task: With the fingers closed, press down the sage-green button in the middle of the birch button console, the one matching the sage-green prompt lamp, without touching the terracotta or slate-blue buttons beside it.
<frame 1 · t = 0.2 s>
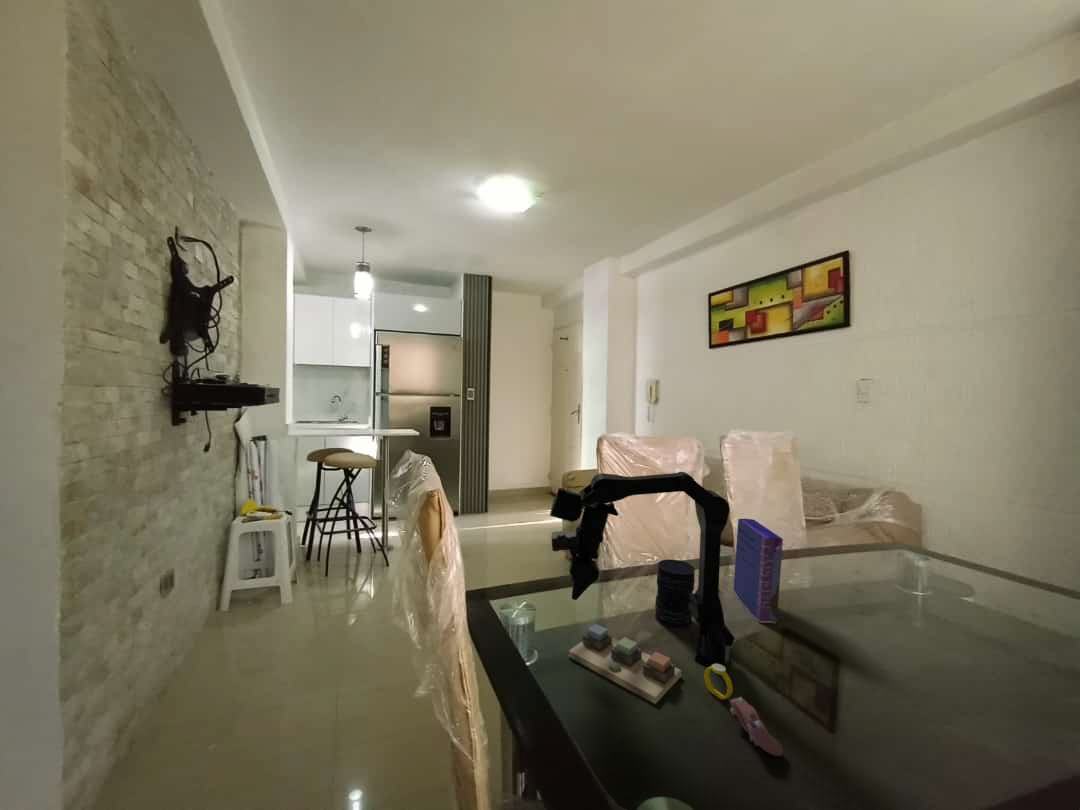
hand: (573, 590, 106), 15 cm above the table, tool pointing down, fingers open, 9 cm apart
gold ring: (717, 695, 95), on the table
terracotta button: (659, 662, 98), point 4 cm above the table, slide at 0.0 cm
pink shoe: (753, 738, 84), on the table
cereal box: (753, 608, 133), on the table
sage button: (626, 647, 103), point 4 cm above the table, slide at 0.0 cm
slate button: (597, 633, 109), point 4 cm above the table, slide at 0.0 cm
console: (623, 666, 103), on the table
storage jar: (673, 620, 124), on the table
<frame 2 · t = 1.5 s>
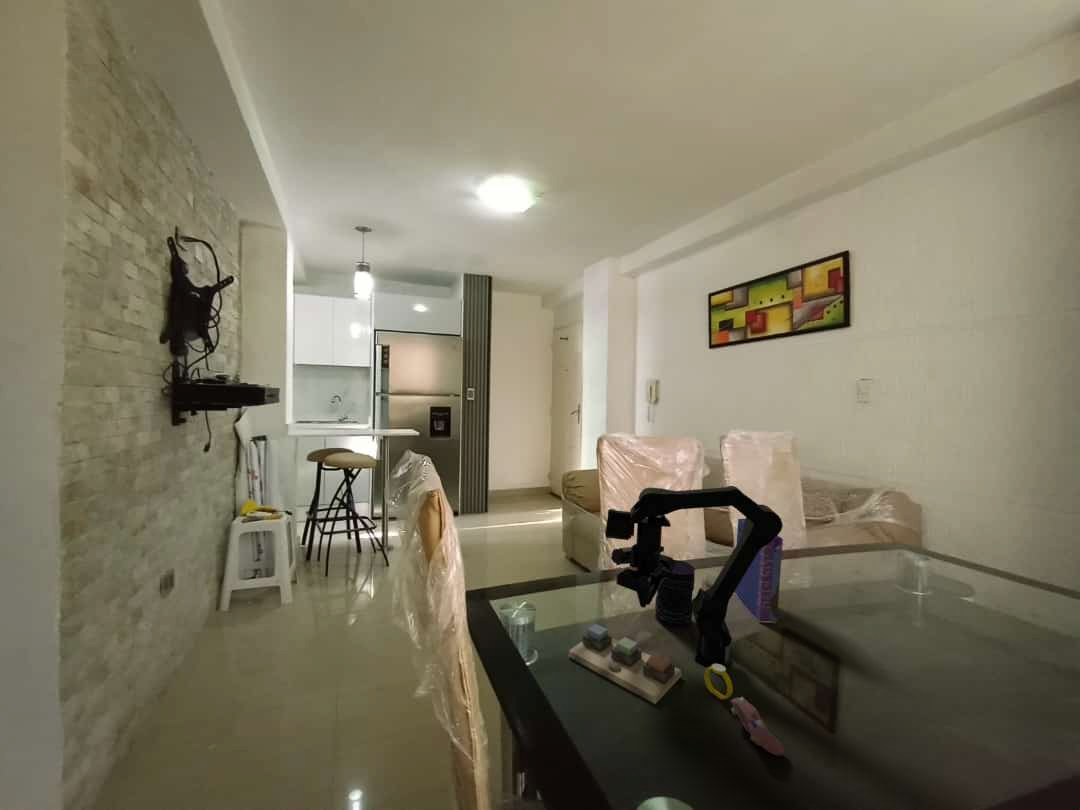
hand: (645, 605, 109), 11 cm above the table, tool pointing down, fingers closed
nothing on the table moved.
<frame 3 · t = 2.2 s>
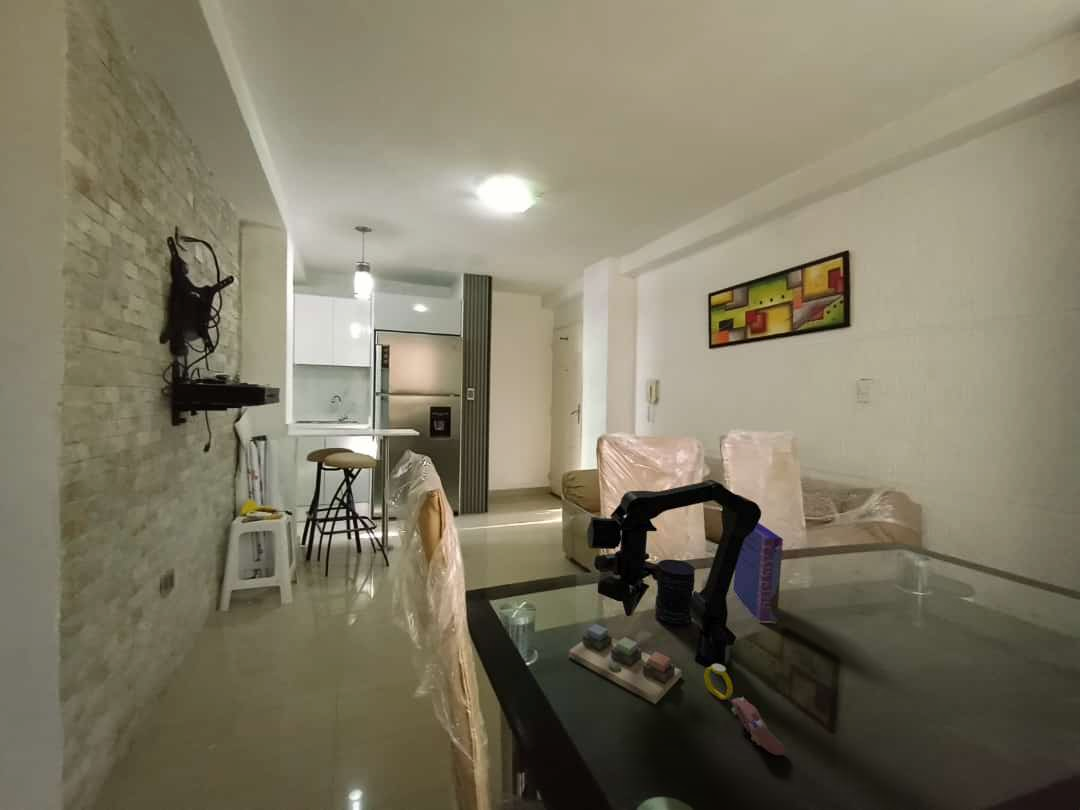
hand: (628, 615, 104), 11 cm above the table, tool pointing down, fingers closed
nothing on the table moved.
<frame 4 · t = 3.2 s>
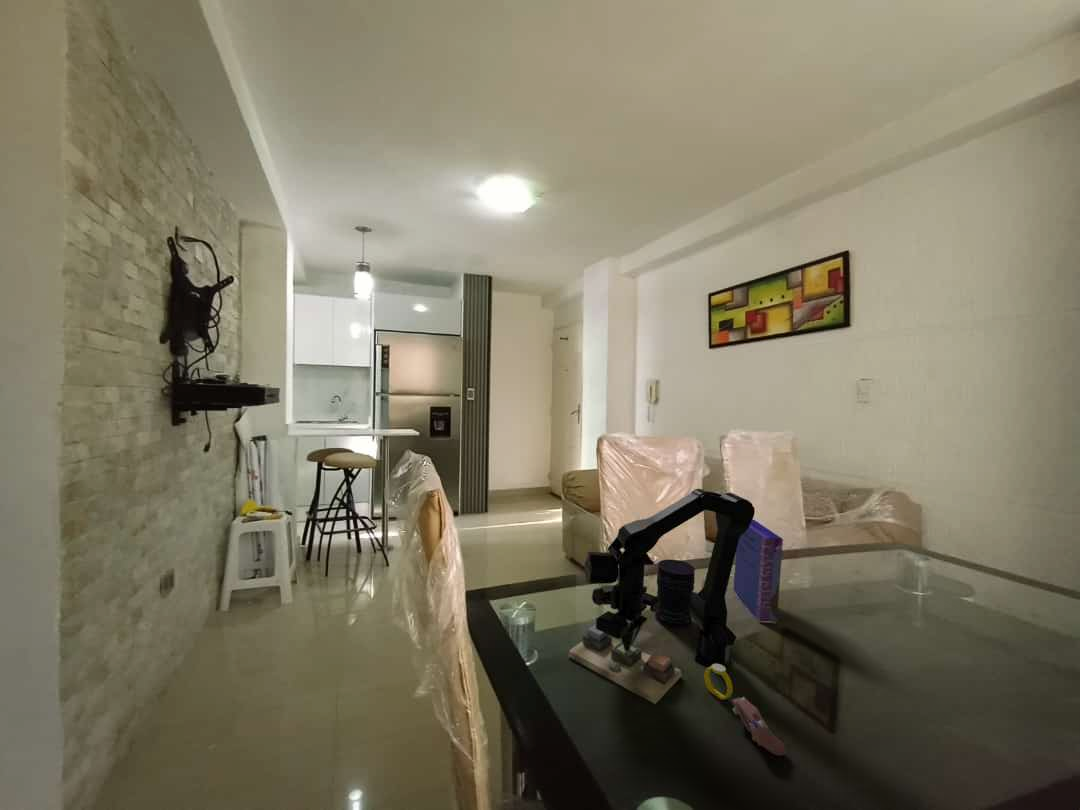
hand: (626, 648, 103), 4 cm above the table, tool pointing down, fingers closed, pressing on sage button
sage button: (626, 653, 103), point 3 cm above the table, slide at 1.4 cm, touching gripper
everything else where it was.
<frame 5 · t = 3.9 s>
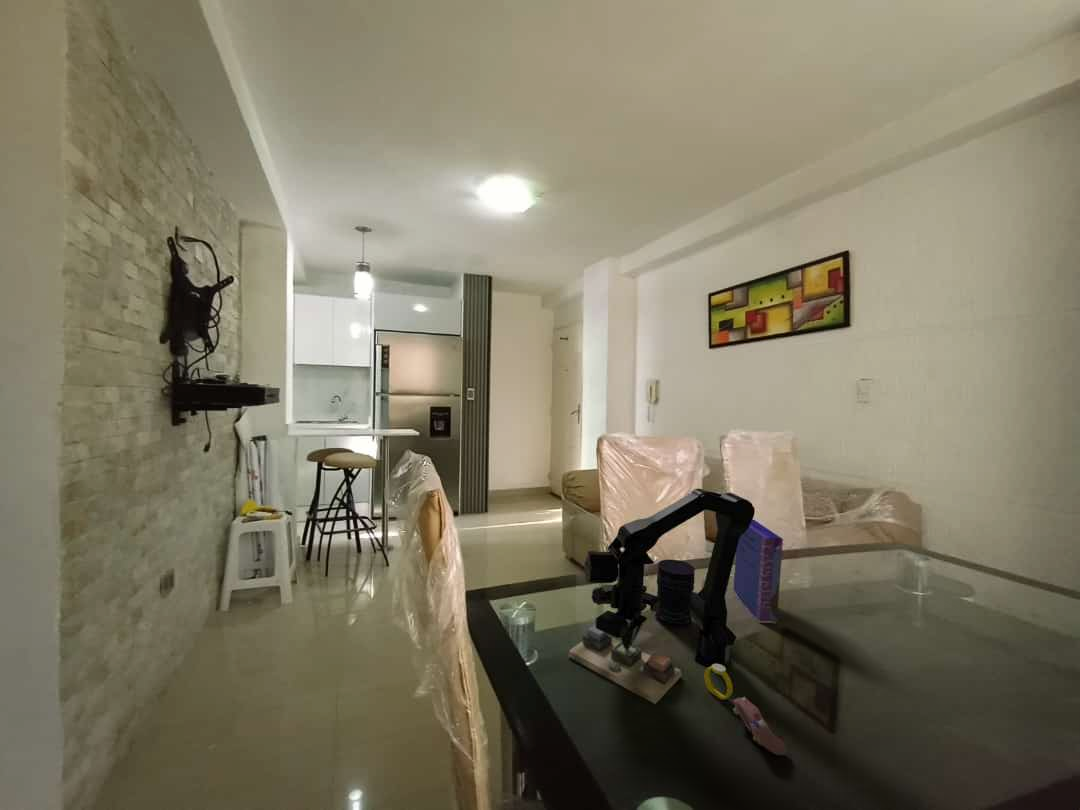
hand: (626, 648, 103), 4 cm above the table, tool pointing down, fingers closed
sage button: (626, 653, 103), point 2 cm above the table, slide at 1.5 cm, touching console
everything else where it was.
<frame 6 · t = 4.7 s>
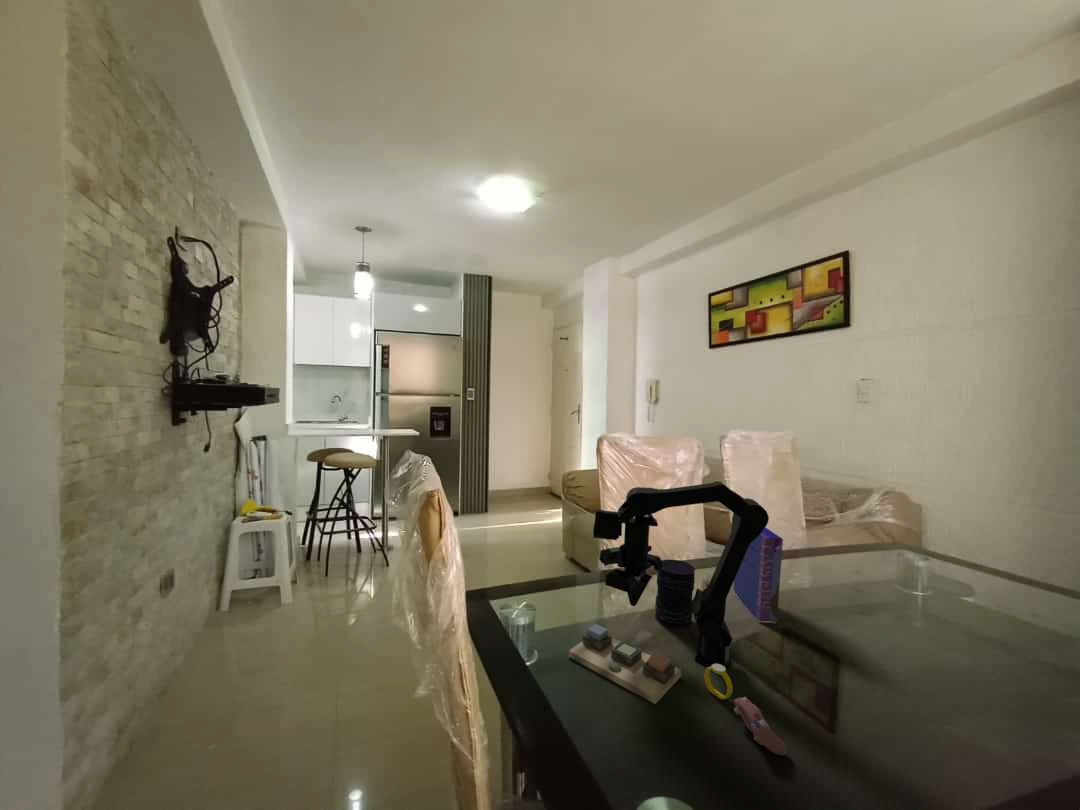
hand: (633, 605, 109), 11 cm above the table, tool pointing down, fingers closed
nothing on the table moved.
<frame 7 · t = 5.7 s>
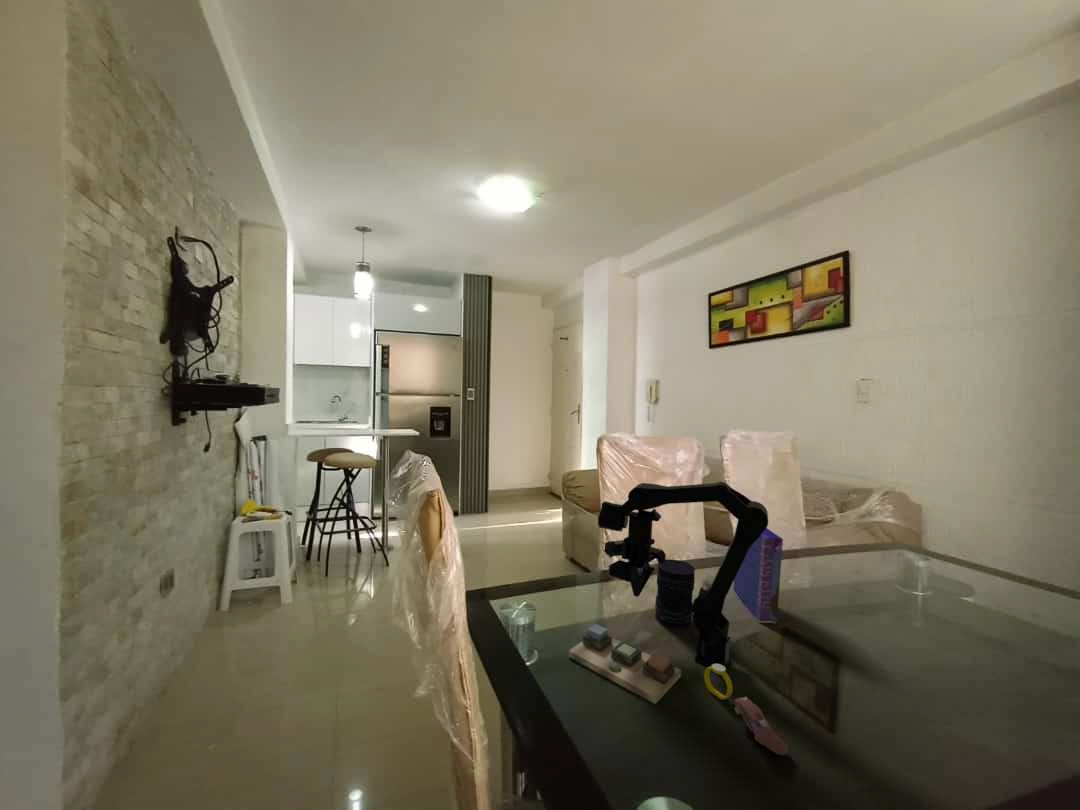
hand: (636, 595, 114), 11 cm above the table, tool pointing down, fingers closed
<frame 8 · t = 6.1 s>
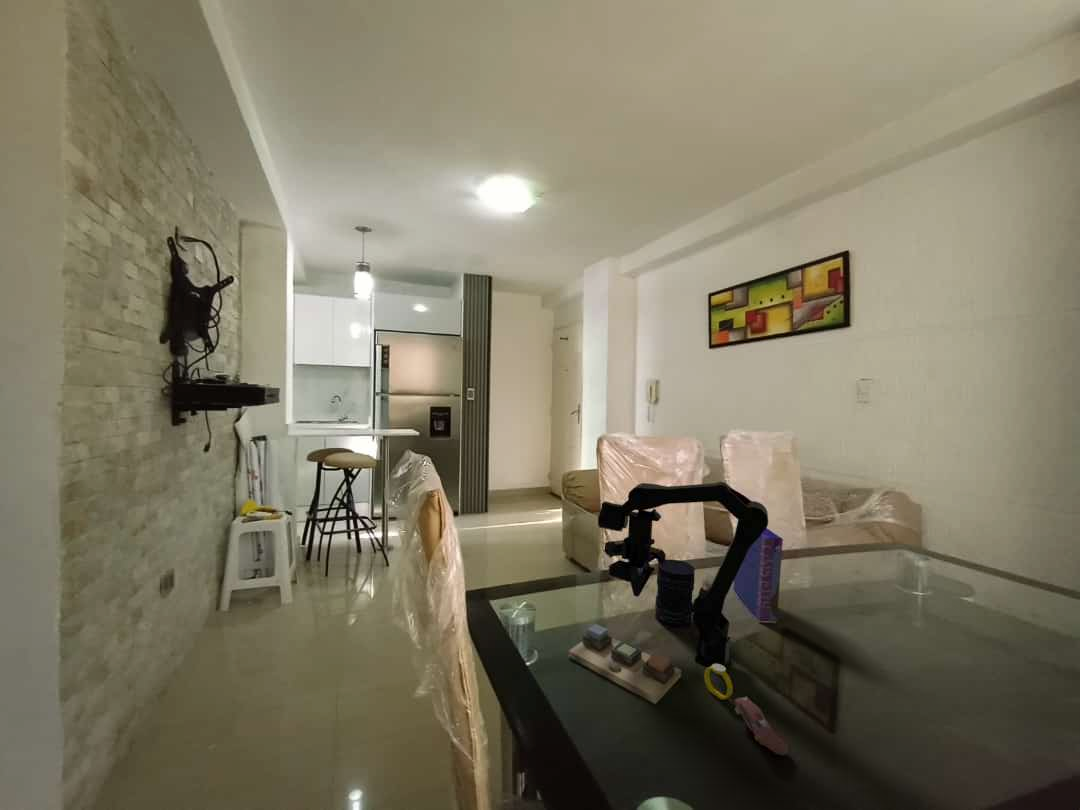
hand: (636, 595, 114), 11 cm above the table, tool pointing down, fingers closed
at the end: sage button slide at 1.5 cm; terracotta button slide at 0.0 cm; slate button slide at 0.0 cm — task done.
